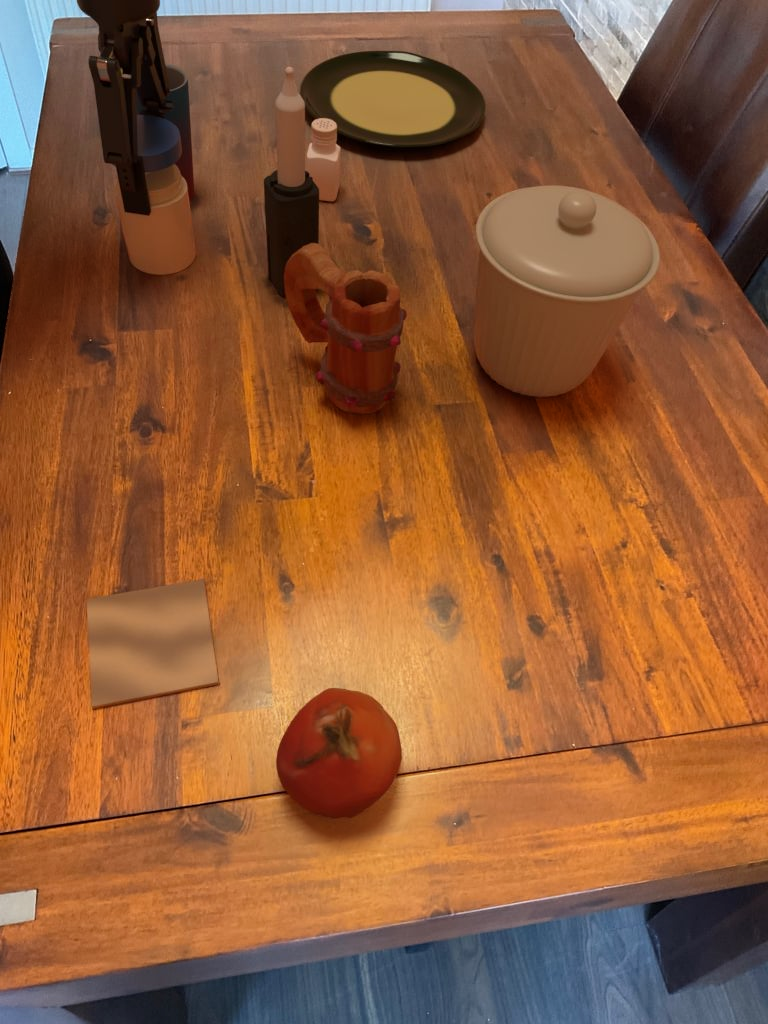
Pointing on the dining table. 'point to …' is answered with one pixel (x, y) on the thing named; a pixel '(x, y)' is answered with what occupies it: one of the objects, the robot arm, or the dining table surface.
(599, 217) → the canister
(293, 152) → the candle
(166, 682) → the coaster
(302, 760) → the tomato
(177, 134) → the lid
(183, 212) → the jar
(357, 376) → the mug
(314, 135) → the salt shaker
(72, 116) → the dining table surface
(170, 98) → the cup
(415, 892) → the dining table surface
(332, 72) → the plate
